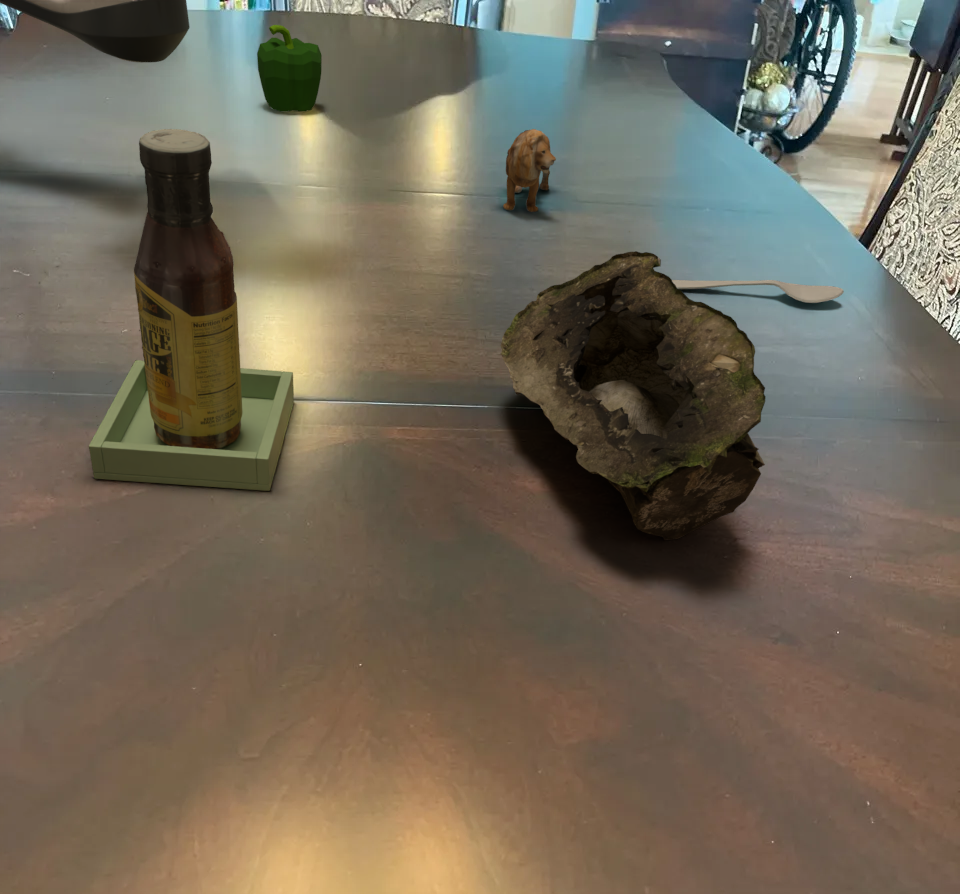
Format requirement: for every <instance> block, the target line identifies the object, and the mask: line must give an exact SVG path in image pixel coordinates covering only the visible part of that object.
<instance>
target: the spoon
mask: <svg viewBox="0 0 960 894" xmlns="http://www.w3.org/2000/svg"><path fill="white" fill-rule="evenodd" d="M671 280H672V282H673V283H674V284H675V285H676V287H677V289H679V290H698V289H699V290H700V289H711V288H724V287H736V286H737V287H739V286H774V287H777V288H779V289H780V290H782V291H783V292H784V293H785V294H786V295H787V296H789V297H790V298H792V299H794V300H796V301H799V302H802V303H807V304H817V303H821V302H823V303H824V302H828V301H831V300H834V299H837V298H840V297H841V296H842V295H843V294H844V292H845V291H844V289H843V288H841V287H838V286H831V285H807V284H798V283H791V282H783V281H780V280H775V279H763V280H762V279H759V280H687V279H685V280H684V279H671Z"/></svg>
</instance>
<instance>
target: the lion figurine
mask: <svg viewBox="0 0 960 894" xmlns="http://www.w3.org/2000/svg"><path fill="white" fill-rule="evenodd" d="M550 143H551V141H550V139H549V137H548V136H547V135H546V134H545V133H544V132H543V131H542V130H537V129H536V128H532V129H525V130H524V131H523V132H520V133H519V134H518V135H517V136H516V137H515V139H514V140H513V143H512V144H511V146H510V147H509V148H508V150H507V153H506V154H507V155H506V158H505V174H506V175H507V177H506V202H505V203H504V204H503V206H502V208H503V209H504V210H506V211H514V209H515V206H516V196H515V195H516V194H520V193H521V192H522V191H523V189H525V188H528V195H527V198H526V201H525V206H526V211H528V212H530V213H536V212H539V207H538V206H537V205H536V201H537V200H536V199H537V194H538V191H539V189H540V190H542V191H548V190H549V188H550V185H549V177H550V174H551V171H550V167H552V166H553V165H554V164H555V162H556V161H557V158H556V156H554V155H553V153H551V152H552V151H551V144H550ZM541 172H542V178H541V181H540V176H541Z"/></svg>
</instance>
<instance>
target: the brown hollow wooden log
mask: <svg viewBox="0 0 960 894" xmlns="http://www.w3.org/2000/svg"><path fill="white" fill-rule="evenodd" d="M661 263H662V259H661V258H660V257H659V256H657V254H654V253H652V252H648V251H645V252H639V251H637V250H636V251H627V252H624V253H617V254H615V255H612V256H611V257H610V259H608V260H607V261H604V262H602V263H600V264H595V265H593V266H592V267H590V268H589V269H588V270H585V271H582V273H579V275H577V276H576V277H575V278H573V279H569V280H567V281H565V282H563V283H561V284H554V285H551V286H549V287H547V288H546V289H543V290H541V291H540V292H539V293H537V295H536V299H535V300H531V301H530V302H529V303H528V304H527V305H526V306H525V307H524V309H522V310H520V311H519V312H517V313H516V314H515V316H514V317H513V319H512V320H511V323H510V325H509V327H508V328H506V330H505V332H504V333H503V336H502V339H501V343H500V349H501V352H500V355H501V357H502V361H503V363H505V365H506V367H507V369H508V373H509V378H510V379H511V380H512V382H513V383H512V387H513V390H514V392H515V394H516V395H519V394H520V395H521V394H522V395H523V396H525V398H527V399H528V400H529V401H530V402H531V403H534V404H537V405H539V406H540V408H541V409H542V411H543V414H544V416H545V418H547V419H548V420H549V421H550V423H551V424H552V426H553V429H554V431H555V432H556V433H558V435H560V436H561V437H562V438H564V439H565V440H567V441H568V440H569V442H570V443H571V444H572V445H574V446H576V447H577V449H578V450H577V452H576V455H575V458H576V462H577V463H578V464H579V465H580V466H581V467H582V468H583V469H585V470H586V471H588V472H589V473H591V474H592V475H600V476H601V477H603V478H605V479H606V480H608V483H609V484H610V485H611V486H612V487H613V488H615V489H616V490H617V491H618V492H619V493H620V494H621V496H622V499H623V500H624V503H625V505H626V507H627V509H628V511H629V513H630V515H631V518H632V521H633V524H634V527H636V530H638V531H641V532H642V533H646V534H649V535H653V536H656V537H662V538H663V540H664V541H672V540H677V539H680V538H682V537H684V536H687V535H688V534H690V533H692V532H694V531H696V530H698V529H700V528H702V527H704V526H706V525H708V524H709V523H711V522H713V521H716V520H717V519H719V518H721V517H723V516H726V515H729V514H732V513H734V512H735V510H737V508H739V507H740V506H741V505H742V504H743V503H744V502H746V501H747V499H748V497H749V496H750V495H751V494H752V491H753V490H754V488H755V486H756V485H757V483H758V481H759V480H760V478H761V475H762V472H761V470H760V468H762V467H764V466H765V465H766V464H765V462H764V460H763V458H762V456H761V455H760V452H759V451H758V450H759V448H758V447H756V445H755V443H754V442H753V439H752V438H751V436H750V434H749V433H750V431H751V430H753V429H754V428H755V427H756V426H758V425H759V424H760V423H761V421H762V412H763V409H764V406H765V403H766V395H765V390H766V387H765V385H764V384H763V383H762V381H761V380H760V378H759V377H758V376H757V375H756V374H755V371H754V369H755V354H756V348H755V347H756V346H755V345H754V343H753V342H752V341H751V340H750V338H749V337H748V335H747V333H746V332H745V331H744V330H741V329H740V328H739V327H738V324H737V322H736V320H735V319H734V318H733V317H731V316H730V315H727V314H725V313H723V312H722V311H721V310H719V309H716V308H714V307H712V306H710V305H708V304H706V303H704V302H703V301H696V300H693V299H690V298H689V296H687V295H686V294H685V292H683V291H682V289H677V287H676V285H675V284H674V283H673V282H672V280H673V279H672V278H671V277H670V276H669V275H667V274H665V273H662V272H661V271H656V270H655V268H659V267H661V265H662V264H661Z"/></svg>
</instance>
